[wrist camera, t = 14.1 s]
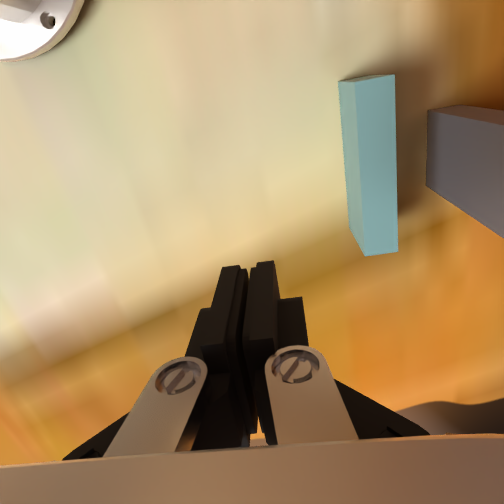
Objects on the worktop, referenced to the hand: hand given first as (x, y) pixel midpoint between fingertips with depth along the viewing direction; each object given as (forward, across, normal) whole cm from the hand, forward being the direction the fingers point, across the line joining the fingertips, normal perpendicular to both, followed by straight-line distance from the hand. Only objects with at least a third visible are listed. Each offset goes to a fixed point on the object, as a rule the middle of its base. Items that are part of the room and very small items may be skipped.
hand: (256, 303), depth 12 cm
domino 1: (+13, -6, -6) cm, 16 cm away
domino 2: (+16, -12, -1) cm, 20 cm away
